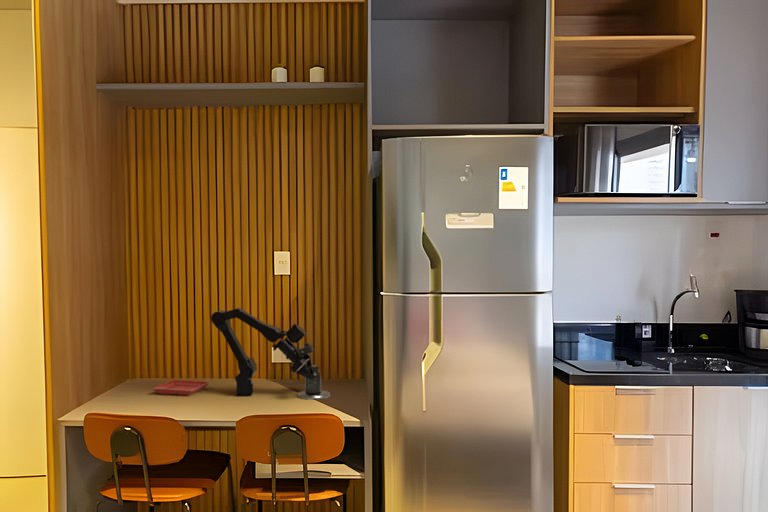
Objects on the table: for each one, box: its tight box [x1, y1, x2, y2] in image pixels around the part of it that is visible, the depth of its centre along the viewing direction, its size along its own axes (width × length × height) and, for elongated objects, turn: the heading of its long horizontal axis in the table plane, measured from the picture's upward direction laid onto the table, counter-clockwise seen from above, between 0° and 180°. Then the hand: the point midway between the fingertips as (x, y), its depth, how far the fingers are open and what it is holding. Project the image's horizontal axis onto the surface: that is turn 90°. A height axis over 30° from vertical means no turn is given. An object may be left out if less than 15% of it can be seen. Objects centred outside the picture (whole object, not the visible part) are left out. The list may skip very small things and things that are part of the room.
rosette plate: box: [297, 389, 331, 400], centre depth 283 cm, size 14×14×1 cm
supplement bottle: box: [304, 364, 322, 395], centre depth 283 cm, size 7×7×12 cm
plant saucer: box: [153, 379, 210, 396], centre depth 291 cm, size 18×18×3 cm
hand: (314, 376), depth 283 cm, fingers open, 9 cm apart
